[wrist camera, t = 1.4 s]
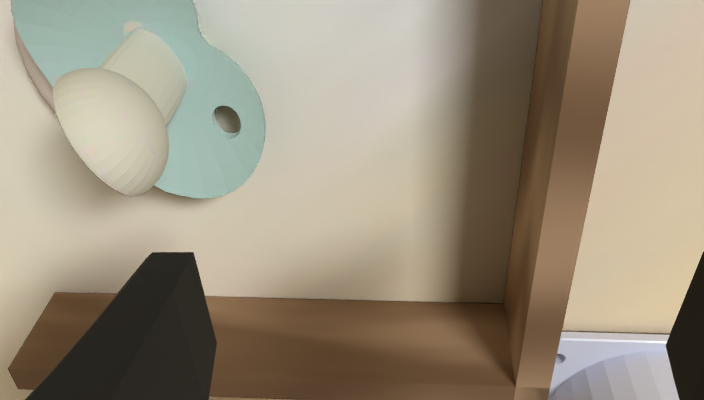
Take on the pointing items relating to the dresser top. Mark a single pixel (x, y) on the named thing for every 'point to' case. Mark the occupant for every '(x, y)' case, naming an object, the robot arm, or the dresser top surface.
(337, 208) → the dresser top surface
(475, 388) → the open box
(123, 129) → the pacifier
